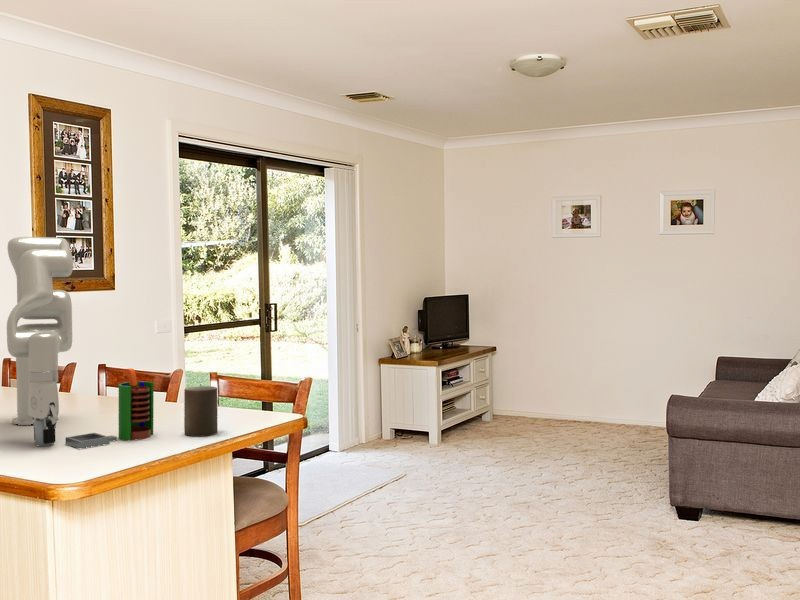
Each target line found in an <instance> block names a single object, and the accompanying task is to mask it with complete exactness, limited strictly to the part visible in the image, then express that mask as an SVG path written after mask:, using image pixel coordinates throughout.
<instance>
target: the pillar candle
mask: <svg viewBox="0 0 800 600" xmlns="http://www.w3.org/2000/svg"><path fill="white" fill-rule="evenodd" d="M183 390H184V391H183V392H184V397H183V398H184V400H183V401H184V402H183V405H184V408H183V410H184V412H183V413H184V417H183V418H184V421H183V423H184V424H183V425H184V428H183V429H184V432H183V433H184V434H185V435H186V436H189V437H205V436H206V437H208V436H213V435H214V436H215V435H216V434H218V387H217V386H211V385H209V386H208V385H206V386H205V385H204V386H203V385H202V384H201V383H200V384H199V386H187V387H185V388H184V389H183Z"/></svg>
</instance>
